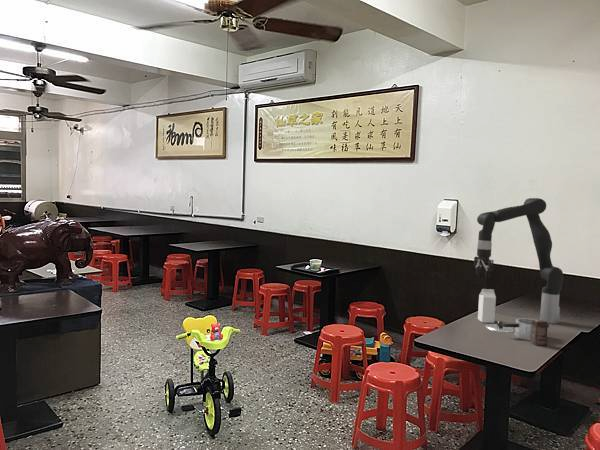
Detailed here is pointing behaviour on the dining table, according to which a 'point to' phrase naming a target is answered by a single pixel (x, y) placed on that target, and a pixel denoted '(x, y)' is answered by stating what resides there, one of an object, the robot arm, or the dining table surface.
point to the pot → (522, 328)
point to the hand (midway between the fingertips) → (482, 276)
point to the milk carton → (487, 306)
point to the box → (539, 332)
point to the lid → (499, 327)
